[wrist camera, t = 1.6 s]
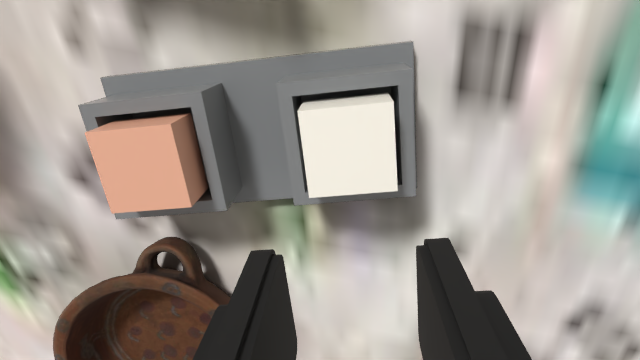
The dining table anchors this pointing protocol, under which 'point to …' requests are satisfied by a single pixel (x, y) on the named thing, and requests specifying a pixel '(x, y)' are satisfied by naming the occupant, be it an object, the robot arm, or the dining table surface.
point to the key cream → (349, 145)
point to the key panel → (264, 118)
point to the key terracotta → (149, 163)
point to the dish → (141, 311)
